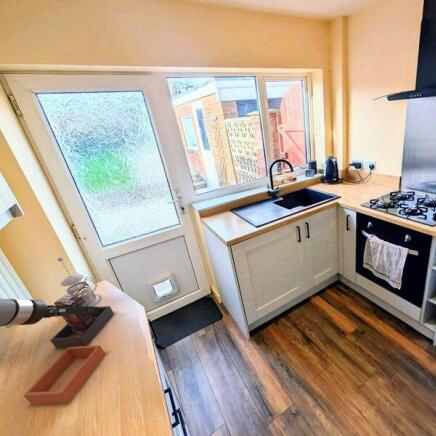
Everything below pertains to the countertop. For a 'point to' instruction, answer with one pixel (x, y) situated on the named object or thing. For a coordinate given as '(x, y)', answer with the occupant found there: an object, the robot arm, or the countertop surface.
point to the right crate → (65, 340)
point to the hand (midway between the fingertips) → (85, 311)
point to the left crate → (43, 383)
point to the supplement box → (75, 320)
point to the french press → (80, 287)
